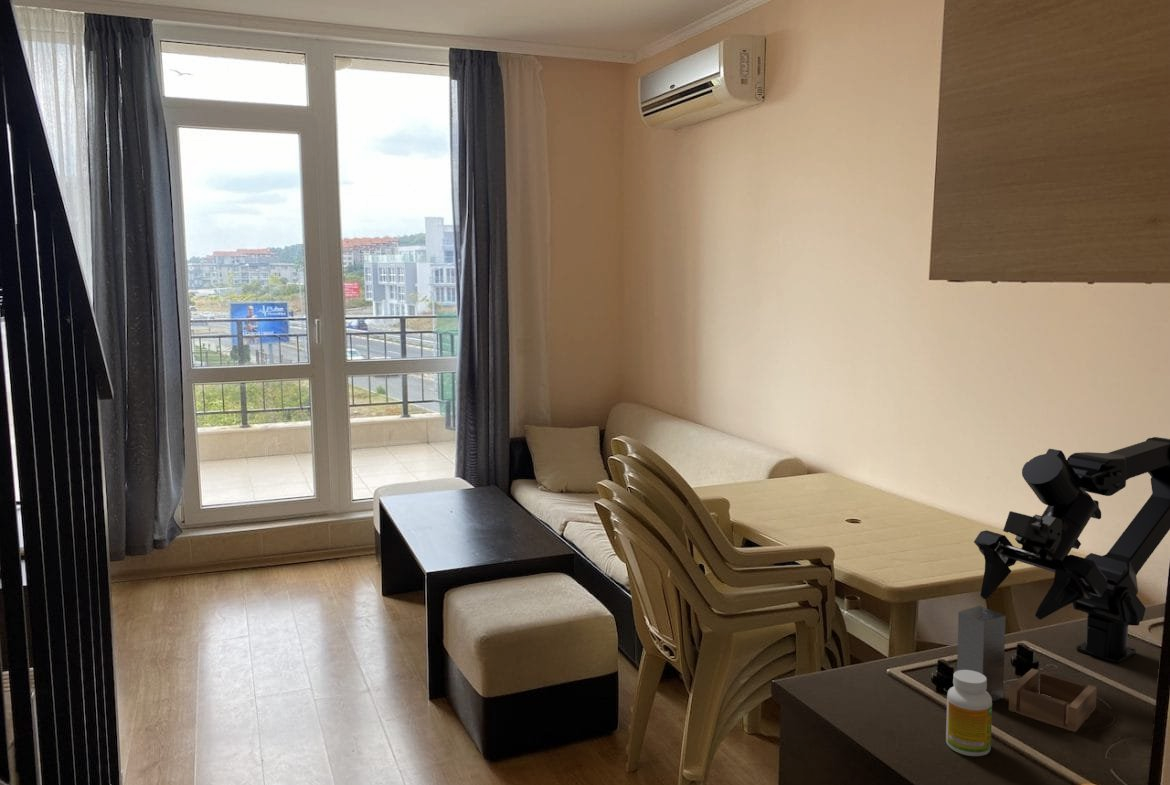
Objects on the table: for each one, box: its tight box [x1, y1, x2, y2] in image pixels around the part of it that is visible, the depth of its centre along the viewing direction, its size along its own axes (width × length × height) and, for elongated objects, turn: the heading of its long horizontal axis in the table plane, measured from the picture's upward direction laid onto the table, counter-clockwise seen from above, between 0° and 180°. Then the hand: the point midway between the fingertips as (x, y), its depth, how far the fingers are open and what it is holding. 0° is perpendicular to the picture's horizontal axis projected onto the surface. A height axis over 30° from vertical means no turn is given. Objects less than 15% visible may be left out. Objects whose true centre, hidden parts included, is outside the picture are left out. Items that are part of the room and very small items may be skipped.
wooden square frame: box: [1008, 668, 1098, 733], centre depth 123 cm, size 9×9×4 cm
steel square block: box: [956, 605, 1006, 702], centre depth 127 cm, size 4×4×12 cm
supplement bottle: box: [945, 670, 993, 757], centre depth 114 cm, size 5×5×10 cm
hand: (1009, 607), depth 129 cm, fingers open, 9 cm apart
